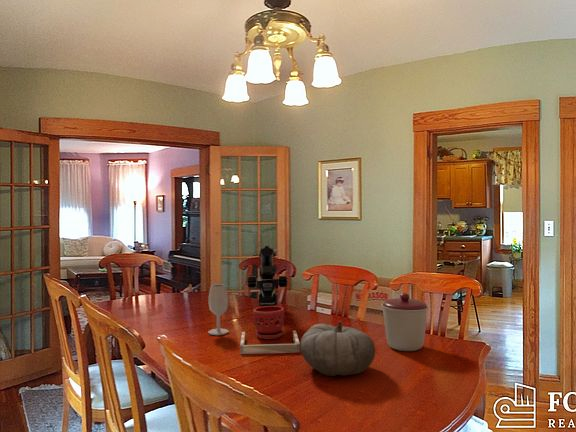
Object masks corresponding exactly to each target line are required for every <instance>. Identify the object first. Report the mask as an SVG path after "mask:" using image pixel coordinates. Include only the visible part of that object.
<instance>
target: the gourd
mask: <svg viewBox="0 0 576 432" xmlns="http://www.w3.org/2000/svg"><path fill="white" fill-rule="evenodd" d="M342 324H343V322H342V320H339V322H338V324H337V325H336V326H334V325H331V324H326V323H316V324H313V325H311V327H310V328H309V329H308V330H307V331H306V332H305V333H304V334H303V336H302V337H301V340H300V353H301V355H302V357H303V359H304V360H305V361H306V363H307V364H308V365H309V366H310V367H311V368H312V369H314V370H317V371H318V373H320V374H323V375H324V376H329V377H330V376H331V377H335V376H337V375H338V376H348V375H350V376H351V375H356V374H357V375H358V374H360V373H363V372H364V371H365V370H366V369H368V368H369V367H370V365H372V363H373V361H374V359H375V354H376V347H375V343H374V341H373V339H372V338H371V337H370V336H369V335H368V334H367V333H365V332H364V331H361V330H360V329H357V328H355V327H350V326H343V325H342Z"/></svg>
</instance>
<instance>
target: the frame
mask: <svg viewBox="0 0 576 432" xmlns="http://www.w3.org/2000/svg"><path fill="white" fill-rule="evenodd" d="M240 338H241V339H240V343H239V344H240V345H239V354H240V355H256V354H257V355H258V354H260V355H261V354H262V355H263V354H287V353H288V354H290V353H294V354H295V353H301V342H300V341H299V337H298V333H297V331H296V330H292V338H293V339H292V340H293V343H274V344H273V343H270V344H268V343H267V344H266V343H265V344H264V343H263V344H245V343H246V331H241V337H240Z"/></svg>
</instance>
